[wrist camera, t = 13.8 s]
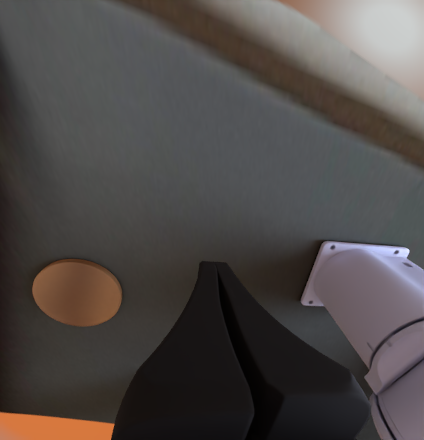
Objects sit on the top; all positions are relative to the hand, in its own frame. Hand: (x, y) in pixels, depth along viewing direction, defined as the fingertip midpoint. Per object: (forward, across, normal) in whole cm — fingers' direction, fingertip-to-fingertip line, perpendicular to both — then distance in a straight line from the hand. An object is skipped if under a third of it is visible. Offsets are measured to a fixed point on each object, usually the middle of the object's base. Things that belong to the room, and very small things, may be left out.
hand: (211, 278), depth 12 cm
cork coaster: (+9, +11, +10) cm, 18 cm away
